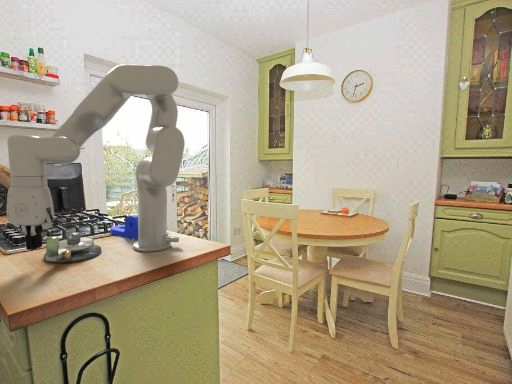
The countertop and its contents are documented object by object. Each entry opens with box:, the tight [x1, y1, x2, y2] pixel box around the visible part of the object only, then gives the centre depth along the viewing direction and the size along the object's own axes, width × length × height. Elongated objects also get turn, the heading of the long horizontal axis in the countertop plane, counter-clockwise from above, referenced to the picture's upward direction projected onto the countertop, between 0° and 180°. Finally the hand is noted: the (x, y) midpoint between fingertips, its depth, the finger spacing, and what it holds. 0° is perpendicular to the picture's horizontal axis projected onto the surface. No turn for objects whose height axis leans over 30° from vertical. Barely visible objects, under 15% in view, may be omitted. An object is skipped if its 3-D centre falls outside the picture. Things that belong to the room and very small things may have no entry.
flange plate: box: [45, 231, 95, 262], centre depth 81 cm, size 18×11×6 cm, turn 8°
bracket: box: [109, 214, 138, 241], centre depth 110 cm, size 18×8×9 cm, turn 65°
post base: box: [43, 244, 102, 264], centre depth 85 cm, size 15×16×4 cm
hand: (34, 248), depth 75 cm, fingers closed
